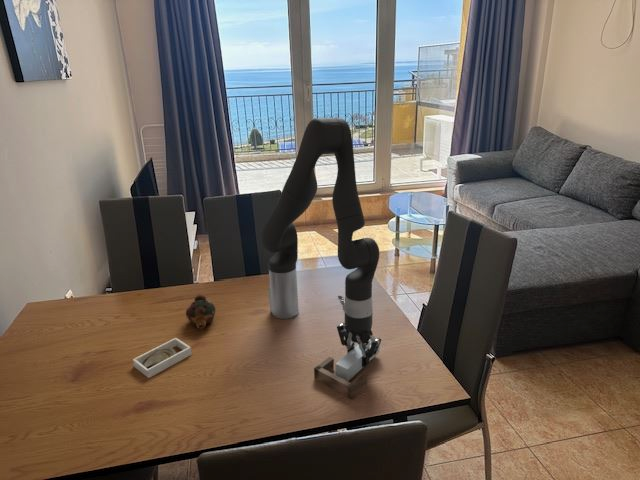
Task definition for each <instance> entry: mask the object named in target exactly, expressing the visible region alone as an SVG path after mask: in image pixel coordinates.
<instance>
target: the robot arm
mask: <svg viewBox="0 0 640 480" xmlns="http://www.w3.org/2000/svg"><path fill="white" fill-rule="evenodd" d="M323 155H334V157H335V161H336V164H337V166H336V167H337V174H336V180H335V184H334V187H333V192H332V199H331V201H332V207H333V212H334V217H335V220H336V224H337V225H336V226H337V259H338V261H339V264H340V265H341V266H342V267H343V268H344V269H346V270H353V271H351V272H349V273H348V274H347V275H346V277H345V280H344V285H345V286H344V289H345V290H344V291H345V292H344V293H345V294H344V295H345V296H344V299H345V303H344V307H345V311H344V322H342V323H340V324H339V325H337V326H336V330H337V332H338V337H339V340H340V344H341V345H342V346H343V347H344V346H345V347H346V349H347V351H346V352H347V353H349V352H350V351H351V350H352V349H354V348H355V347H356V343H357V345H358V344H359V349H360V350H361V352H362V367H363V368H365V369H366V367H367V366H368V365H369V364H370V362H371V360H370V358H371V357H372V356H373V355H375V354H376V352H377V350H378V348H379V349H380V345H381V342H382V339H381V338H380V337H375V336H374V334H373V330H372V326H373V313H374V312H373V306H374V305H373V304H374V303H373V294H372V293H373V292H372V291H373V280H374V277H375V274H376V270H377V267H378V264H379V261H380V247H379V245H378V243H377V241H376V240H375V239H373V238H372V237H364V238H359V239H354V240H353V235H354V232H357V231H359V230H361V229H363V228H364V226H366V225H365V223H366V222H365V217H364V213H363V210H362V205H361V201H360V197H359V192H358V187H357V179H356V166H355V155H354V144H353V136H352V131H351V127H350V125H349V123H348V121H347V120H345V119H344V118H342V117H316V118H313V119H311V120H310V121H309V122H308V124H307V125H306V127H305V131H304V132H303V136H302V138H301V141H300V145H299V148H298V151H297V155H296V158H295V161H294V163H293V165H292V168H291V170H290V172H289V175H288V177H287V178H286V181H285V184H284V185H283V187H282V189H281V193H280V195H279V197H278V200H277V202H276V205H275V206H274V207H273V210H272V212H271V214H270V216H269V217H268V219H267V221H266V222H265V224H264V225H263V227H262V228H261V232H260V244H261V247H262V248H263V249H264V251H266V252H268V253H274V255H272V256H271V257H270V258H269V260H268V262H267V266H268V277H269V287H267V288H268V289H267V290H268V299H269V311H270V313H271V314H272V316H273V317H275V318H277V319H279V320H280V319H284V320H286V319H292V318H294V317H296V316H297V315H298V314H299V296H298V295H299V293H298V277H297V274H298V273H297V262H298V251H299V249H298V248H299V247H298V245H299V244H298V243H299V242H298V241H299V240H298V233H297V228H296V226H295V224H294V222H295V221H296V220H297V219H298V218H299V217H301V216H302V215H303V214H304V213H305V212H306V211H307V210H308V208H309V207H310V206H311V204H312V201H313V200H314V197H315V196H316V194H317V191H318V182H317V177H316V174H315V173H316V172H315V167H316V165H317V163H318V161H319V159H320V157H321V156H323ZM354 269H355V270H354ZM369 339H370V340H371V344H370V340H369ZM370 345H371V347H370ZM347 353H346V354H347Z"/></svg>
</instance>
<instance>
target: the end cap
mask: <svg viewBox="0 0 640 480" xmlns="http://www.w3.org/2000/svg"><path fill="white" fill-rule="evenodd" d="M334 363H335V362H334V358H333V357H330V356H328V357H327V358H326V359H325V360H322V362H320V363H319V364H318V365H316V366H315V367H314V368H313V374H314V375H313V376H314V377H313V378H314V380H316V381H317V382H319V383H322V384H323V385H325V386H327V387H329V388H331V389H332V390H334V391H336V392H338V393H340V395H341V394H342V395H343V396H344V397H347V398H349V399H350V400H354V399H355V398H356V397H357V396H358V395H359V394H361V392H362V391H364V390H365V389H366V388H367V387H368V375H367V374H365V373H361V374H360V375H359V376H357V377H356V378H355V379H354V380H353V381H351V382H350V381H346V380H344V379H342V378H340V377H339V376H337V375H336V373H332V371H334V365H335V364H334Z"/></svg>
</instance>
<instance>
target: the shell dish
mask: <svg viewBox="0 0 640 480" xmlns="http://www.w3.org/2000/svg"><path fill="white" fill-rule="evenodd" d="M167 347H171V348H173V349H174V348H175V347H177V348H179V349H180V350H181V351H178V352H177V354H175V355H173V356H171V357H169V358H167V359H166V360H164V361H162V362H160V363H158V364H154V365H152V366H151V367H147V368H146V367H145V366H144V365H142V363H143V362H144V360H145V359H147V358H148V357H149V356H150V355H151V354H153V353H154V352H155V351H157V350H160V349H163V348H167ZM192 354H193V352H192V347H191V346H190V345H188V344H186V343H185V342H184V341H182V340H181V339H178V337H174V338H172V339H170V340H168V341H166V342H164V343H162V344H161V345H158V346H157V347H155V348H153V349H150V350H148V351H147V352H145V353H142V354H141V355H139V356H136V357H135V358H133V359H132V363H133V368H135V369H137V370H138V371H139V372H140V373H141V374H142V375H144V376H145V377H147V379H149V378H152V377H154V376H155V375H157V374H160V373H161V372H163V371H164V370H166V369H168V368H169V367H172V366H174V365H175V364H177V363H179V362H181V361H182V360H185V359H186V358H187V357H190V356H192Z"/></svg>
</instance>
